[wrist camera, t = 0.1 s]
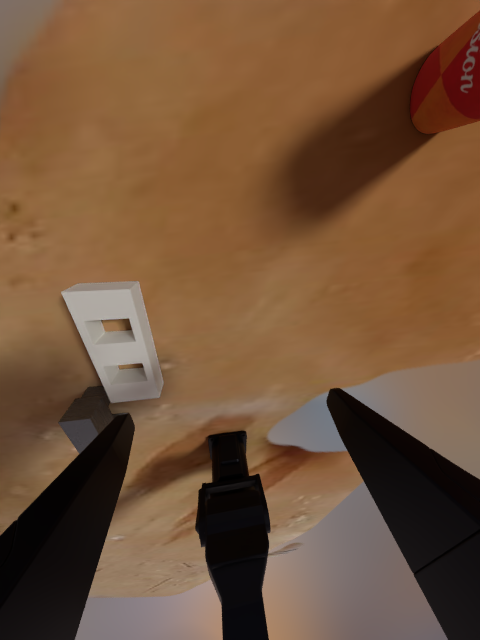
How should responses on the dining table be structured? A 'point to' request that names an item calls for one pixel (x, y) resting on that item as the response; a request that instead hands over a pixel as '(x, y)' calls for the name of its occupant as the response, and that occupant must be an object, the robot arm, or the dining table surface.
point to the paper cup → (449, 82)
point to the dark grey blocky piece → (87, 417)
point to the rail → (117, 338)
